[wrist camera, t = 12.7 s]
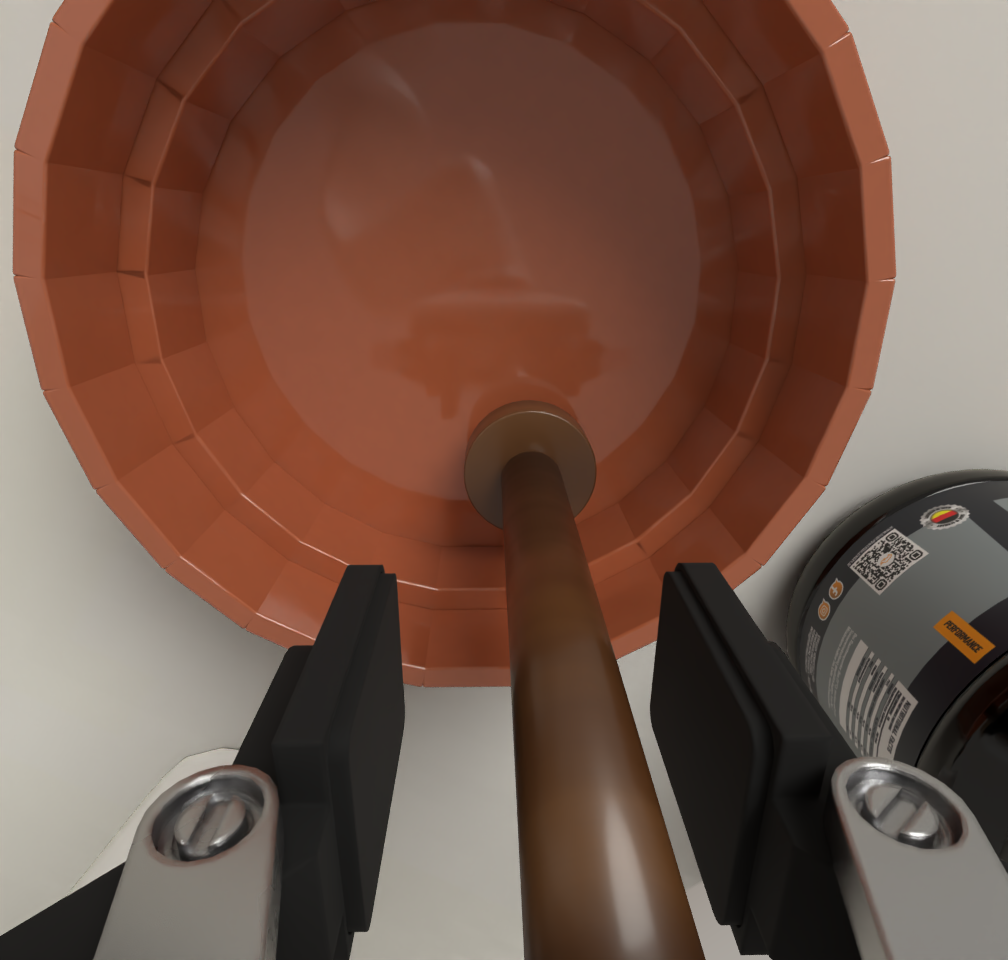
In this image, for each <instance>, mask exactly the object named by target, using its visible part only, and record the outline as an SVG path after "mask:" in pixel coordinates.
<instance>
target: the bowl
mask: <svg viewBox="0 0 1008 960" xmlns="http://www.w3.org/2000/svg"><path fill="white" fill-rule="evenodd" d="M52 20H53V22H51V23H50V25H49V29H48V32H47V36H46V39H45V43H44V46H43V49H42V53H41V56H40V60H39V63H38V66H37V70H36V73H35V77H34V80H33V84H32V87H31V90H30V94H29V97H28V101H27V104H26V108H25V111H24V114H23V118H22V121H21V125H20V128H19V132H18V135H17V138H16V142H15V145H14V146H15V148H16V149H17V150H15V151H14V187H13V274H14V275H16V276H14V283H15V287H16V291H17V295H18V299H19V303H20V307H21V311H22V314H23V318H24V322H25V326H26V330H27V334H28V338H29V342H30V346H31V350H32V354H33V358H34V362H35V366H36V370H37V374H38V378H39V382H40V386H41V389H42V390H45V391H43V395H44V397H45V398H46V400H47V402H48V404H49V406H50V408H51V410H52V412H53V414H54V415H55V417H56V419H57V421H58V423H59V425H60V427H61V429H62V431H63V432H64V434H65V436H66V438H67V440H68V442H69V444H70V446H71V448H72V450H73V451H74V453H75V455H76V457H77V459H78V461H79V463H80V465H81V467H82V468H83V470H84V472H85V474H86V476H87V478H88V480H89V482H90V484H91V486H92V487H93V489H97V490H96V493H97V494H98V495H99V496H100V498H101V499H102V500H103V501H104V502H105V503H106V504H107V506H108V507H109V508H110V509H111V510H112V511H113V513H114V514H115V515H116V516H117V517H118V518H119V519H120V521H121V522H122V523H123V524H124V525H125V526H126V527H127V529H128V530H129V531H130V532H131V533H132V534H133V536H134V537H135V538H136V539H137V540H138V541H139V542H140V544H141V545H142V546H143V547H144V548H145V549H146V551H147V552H148V553H149V554H150V555H151V556H152V557H153V559H154V560H155V561H156V562H157V563H158V564H159V566H160V567H161V568H163V569H165V568H166V569H165V571H166V572H167V573H168V574H169V575H171V576H172V577H173V578H175V579H176V580H177V581H179V582H180V583H182V584H183V585H184V586H186V587H187V588H188V589H190V590H191V591H192V592H194V593H195V594H196V595H198V596H199V597H200V598H202V599H203V600H205V601H206V602H207V603H209V604H210V605H211V606H213V607H214V608H215V609H217V610H218V611H219V612H221V613H222V614H224V615H225V616H226V617H228V618H229V619H230V620H232V621H233V622H234V623H236V624H237V625H238V626H240V627H241V628H246V630H247V631H248V632H250V633H253V634H255V635H257V636H259V637H262V638H264V639H266V640H268V641H271V642H273V643H275V644H277V645H280V646H282V647H284V648H286V649H289V648H290V647H292V646H294V645H314V642H315V640H316V638H317V635H318V633H319V631H320V628H321V626H322V624H323V621H324V619H325V616H326V614H327V612H328V609H329V607H330V605H331V602H332V600H333V598H334V595H335V593H336V591H337V588H338V586H339V584H340V581H341V579H342V577H343V574H344V572H345V570H346V567H347V566H348V565H383V566H384V570H385V573H395V574H396V577H397V589H398V605H399V621H400V638H401V654H402V671H403V684H408V685H413V686H418V687H422V686H424V687H511V675H510V655H509V635H508V614H507V594H506V574H505V553H504V533H503V530H501V529H499V528H497V527H495V526H494V525H492V524H490V523H489V522H488V521H486V520H485V519H484V518H483V517H482V516H481V515H480V514H479V513H478V512H477V511H476V509H475V508H474V506H473V505H472V503H471V501H470V499H469V498H468V495H467V492H466V489H465V484H464V462H465V453H466V448H467V444H468V441H469V439H470V436H471V435H472V433H473V431H474V429H475V428H476V426H477V425H478V424H479V423H480V422H481V420H482V419H483V418H484V417H486V416H487V415H488V414H489V413H490V412H492V411H494V410H495V409H497V408H499V407H501V406H503V405H505V404H509V403H512V402H516V401H522V400H535V401H542V402H547V403H550V404H552V405H555V406H557V407H559V408H561V409H563V410H564V411H566V412H567V413H569V414H570V415H571V416H572V417H573V418H574V419H575V420H576V421H577V422H578V423H579V425H580V426H581V428H582V429H583V431H584V433H585V435H586V437H587V439H588V441H589V443H590V445H591V448H592V450H593V452H594V456H595V460H596V467H597V474H596V482H595V487H594V490H593V493H592V495H591V497H590V500H589V501H588V503H587V504H586V506H585V507H584V509H583V510H582V511H581V512H580V513H579V514H578V515H577V516H576V517H575V518H574V520H575V523H576V526H577V530H578V533H579V536H580V540H581V543H582V547H583V550H584V553H585V557H586V560H587V563H588V567H589V570H590V573H591V577H592V580H593V583H594V587H595V590H596V594H597V597H598V600H599V604H600V607H601V610H602V614H603V617H604V620H605V624H606V627H607V630H608V634H609V637H610V641H611V644H612V647H613V651H614V654H615V657H616V660H617V659H619V658H621V657H623V656H625V655H627V654H629V653H631V652H633V651H636V650H638V649H640V648H642V647H644V646H646V645H648V644H650V643H652V642H654V641H657V633H658V624H659V614H660V604H661V595H662V585H663V577H664V574H665V572H666V571H674V570H675V567H676V565H677V564H678V563H714V564H715V565H716V566H717V568H718V569H719V571H720V572H721V574H722V575H723V577H724V578H725V579H726V581H727V582H728V584H729V585H730V587H731V588H732V590H733V589H735V588H736V587H737V586H739V585H740V584H741V583H742V582H744V581H745V580H746V579H747V578H749V577H750V576H751V575H752V574H754V573H755V572H756V571H758V570H759V569H760V568H761V565H763V566H764V565H765V564H766V563H767V561H768V560H769V559H770V558H771V556H772V555H773V554H774V553H775V551H776V550H777V549H778V548H779V546H780V545H781V544H782V543H783V541H784V540H785V539H786V538H787V536H788V535H789V534H790V533H791V531H792V530H793V529H794V528H795V526H796V525H797V524H798V523H799V522H800V520H801V519H802V518H803V517H804V515H805V514H806V513H807V512H808V510H809V509H810V508H811V507H812V505H813V504H814V503H815V502H816V500H817V499H818V498H819V497H820V495H821V494H822V493H823V492H824V490H825V489H826V488H825V486H827V485H828V483H829V481H830V479H831V477H832V475H833V472H834V470H835V468H836V466H837V464H838V462H839V460H840V458H841V456H842V454H843V452H844V449H845V447H846V445H847V443H848V441H849V439H850V437H851V435H852V433H853V431H854V428H855V426H856V424H857V422H858V420H859V418H860V416H861V414H862V412H863V410H864V408H865V405H866V403H867V401H868V399H869V397H870V395H871V391H870V390H871V389H872V388H873V386H874V381H875V376H876V372H877V367H878V362H879V357H880V352H881V348H882V343H883V338H884V333H885V328H886V324H887V319H888V314H889V309H890V304H891V300H892V295H893V290H894V285H895V279H893V278H895V277H896V260H895V238H894V215H893V193H892V170H891V157H890V156H888V155H889V149H888V146H887V143H886V140H885V136H884V133H883V130H882V127H881V124H880V121H879V118H878V114H877V111H876V108H875V105H874V102H873V99H872V96H871V92H870V89H869V86H868V83H867V80H866V77H865V74H864V70H863V67H862V64H861V61H860V58H859V55H858V52H857V48H856V45H855V42H854V39H853V36H852V34H851V32H848V30H849V27H848V25H847V24H846V22H845V21H844V19H843V18H842V16H841V15H840V13H839V12H838V10H837V9H836V7H835V6H834V4H833V3H832V1H831V0H64V1H63V3H62V4H61V6H60V7H59V9H58V10H57V12H56V13H55V15H54V16H53V19H52Z"/></svg>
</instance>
